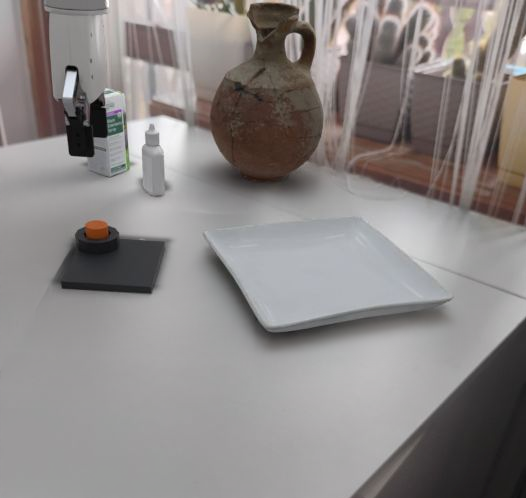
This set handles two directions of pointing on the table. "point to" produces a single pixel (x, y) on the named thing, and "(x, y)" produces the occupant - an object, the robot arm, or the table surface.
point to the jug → (269, 100)
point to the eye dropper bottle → (153, 163)
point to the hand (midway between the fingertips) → (89, 145)
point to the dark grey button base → (113, 264)
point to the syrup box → (112, 138)
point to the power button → (96, 229)
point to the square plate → (322, 272)
